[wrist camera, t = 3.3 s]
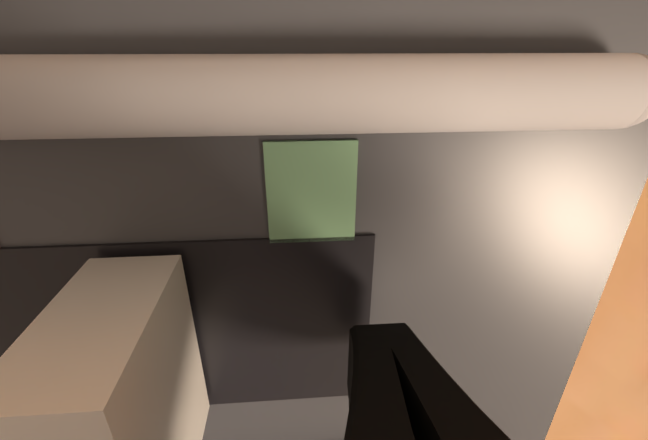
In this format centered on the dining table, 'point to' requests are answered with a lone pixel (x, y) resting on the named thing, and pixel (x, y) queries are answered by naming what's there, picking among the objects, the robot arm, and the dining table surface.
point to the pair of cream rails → (316, 93)
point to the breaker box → (336, 209)
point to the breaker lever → (108, 359)
